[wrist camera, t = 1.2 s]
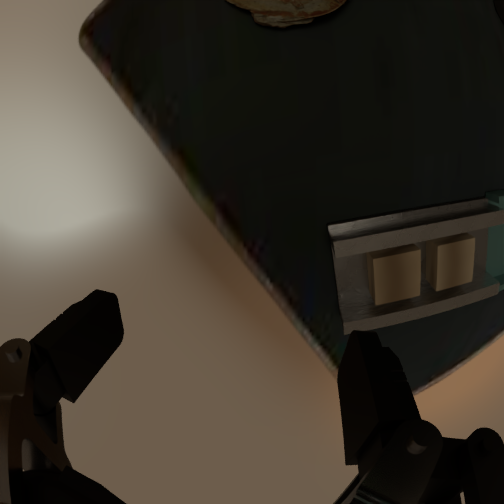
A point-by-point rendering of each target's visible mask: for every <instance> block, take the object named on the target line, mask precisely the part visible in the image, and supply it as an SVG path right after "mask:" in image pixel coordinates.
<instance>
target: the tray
mask: <svg viewBox="0 0 504 504" xmlns="http://www.w3.org/2000/svg"><path fill="white" fill-rule="evenodd" d="M485 194H486V198H488V203H491V204H493V205H496V206H498V207H501V208H503V209H504V189H503V190H496V191H489V192H485ZM486 271H487V272H488V273H489V274H491V275H492V276H493V277H494V278H495V279H496V280H498V281H499V282H500V285H499V291H501V290H504V224H501V225H496V226H492V227H488V246H487V260H486Z"/></svg>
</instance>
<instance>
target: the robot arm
mask: <svg viewBox="0 0 504 504" xmlns="http://www.w3.org/2000/svg"><path fill="white" fill-rule="evenodd" d="M494 4H495V7H496V10H497V12H498V14H499V16H500V18H501V20H502V21H503V23H504V0H494ZM123 335H124V329H123V324H122V319H121V313H120V308H119V303H118V298H117V296H116V295H115V294H114V293H110V292H106V291H102V290H98V289H96V290H95V291H93V292H92V293H90V294H89V295H88V296H87V297H85V298H84V299H83V300H82V301H79V302H77V303H75V304H73V305H71V306H70V307H69V308H68V309H66V310H65V311H64V312H63V314H60V315H59V316H58V317H57V318H56V320H53V321H52V322H51V323H50V324H48V325H47V326H46V327H45V328H44V329H43V330H42V331H40V332H39V333H38V334H37V335H36V336H35V337H34V338H33V339H31V340H30V341H29V342H28V341H27V340H25V339H21V338H16V339H11V340H9V341H7V342H5V343H4V344H3V345H2V346H1V347H0V504H126V503H125V502H123V501H122V500H121V499H119V498H118V497H116V496H115V495H114V494H112V493H111V492H110V491H109V490H107V489H106V488H104V486H102V485H101V484H99V483H97V482H95V481H94V480H92V479H90V478H88V477H86V476H84V475H82V474H81V473H79V472H77V471H76V470H74V469H73V468H72V466H71V463H70V461H69V459H68V458H67V455H66V453H65V449H64V440H63V429H62V412H61V405H60V403H59V400H60V399H61V398H62V397H63V398H65V399H67V400H69V401H70V402H72V403H75V401H76V400H77V399H78V397H79V396H80V395H81V393H82V392H83V391H84V390H85V388H86V387H87V386H88V384H89V383H90V382H91V381H92V379H93V378H94V377H95V375H96V374H97V373H98V372H99V370H100V369H101V368H102V367H103V365H104V364H105V363H106V362H107V360H108V359H109V358H110V356H111V355H112V354H113V353H114V352H115V350H116V349H117V348H118V347H119V345H120V344H121V342H122V340H123ZM337 383H338V391H339V399H340V407H341V417H342V427H343V437H344V450H345V464H346V465H358V470H359V473H358V474H357V475H356V477H355V478H354V479H353V480H352V482H351V483H350V484H349V485H348V487H347V488H346V489H345V490H344V492H343V493H342V494H341V495H340V496H339V497H338V499H337V500H336V501H335V502H334V503H333V504H462V503H461V497H460V493H461V492H464V497H465V504H504V444H503V441H502V439H501V437H500V436H499V434H498V433H497V432H495V431H494V430H492V429H490V428H479V429H477V430H475V431H474V432H473V433H472V434H471V435H470V436H469V437H468V438H467V439H455V438H446V437H442V435H441V433H440V431H439V430H438V429H437V428H436V427H435V426H434V425H433V424H431V423H430V422H428V421H425V420H422V419H421V417H420V414H419V411H418V408H417V405H416V402H415V400H414V397H413V394H412V391H411V389H410V386H409V383H408V382H407V378H406V375H405V373H404V372H403V368H402V365H401V363H400V360H399V358H398V357H397V356H396V355H395V354H394V353H393V351H392V350H391V349H390V348H389V347H382V345H381V342H380V340H379V337H378V335H377V333H376V332H375V331H361V330H353V331H352V332H351V334H350V336H349V339H348V343H347V346H346V348H345V351H344V354H343V357H342V360H341V363H340V366H339V370H338V378H337ZM23 469H24V471H23Z"/></svg>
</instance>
